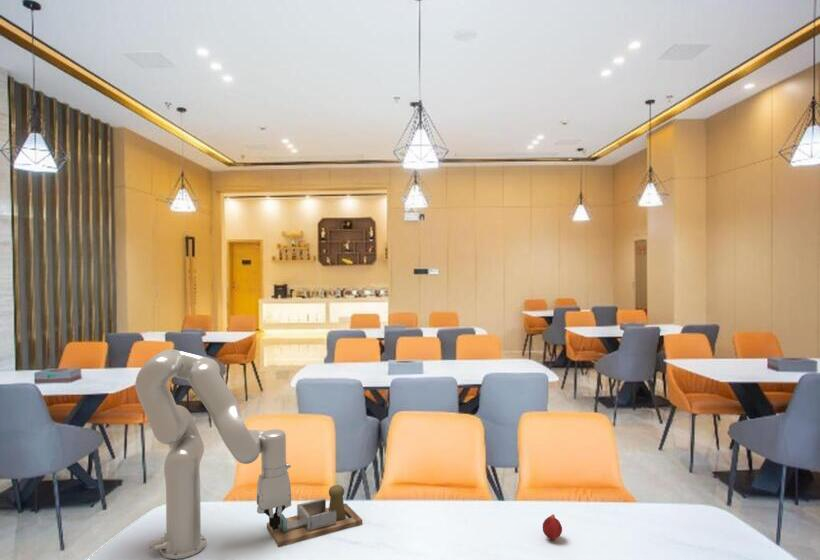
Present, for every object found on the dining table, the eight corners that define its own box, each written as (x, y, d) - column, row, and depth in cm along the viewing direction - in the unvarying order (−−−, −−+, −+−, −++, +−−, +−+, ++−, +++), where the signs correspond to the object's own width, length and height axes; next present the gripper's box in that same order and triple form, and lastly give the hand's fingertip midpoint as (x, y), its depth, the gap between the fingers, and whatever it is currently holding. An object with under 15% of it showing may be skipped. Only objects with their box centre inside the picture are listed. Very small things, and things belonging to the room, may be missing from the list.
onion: (548, 546, 154) (548, 519, 154) (539, 536, 160) (539, 511, 160) (565, 543, 156) (565, 517, 156) (555, 534, 161) (555, 509, 161)
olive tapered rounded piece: (347, 515, 173) (347, 483, 173) (342, 523, 167) (342, 490, 167) (330, 514, 174) (330, 482, 174) (325, 522, 168) (325, 489, 168)
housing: (286, 536, 156) (286, 523, 156) (276, 521, 166) (276, 509, 166) (336, 523, 165) (336, 511, 165) (324, 509, 174) (324, 498, 174)
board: (278, 547, 154) (278, 542, 154) (266, 527, 166) (266, 522, 166) (362, 524, 168) (362, 519, 168) (345, 507, 180) (345, 503, 180)
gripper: (293, 461, 167) (294, 517, 167) (247, 471, 159) (247, 528, 160) (300, 469, 160) (301, 526, 161) (252, 479, 153) (253, 539, 153)
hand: (274, 527), depth 160 cm, fingers closed
